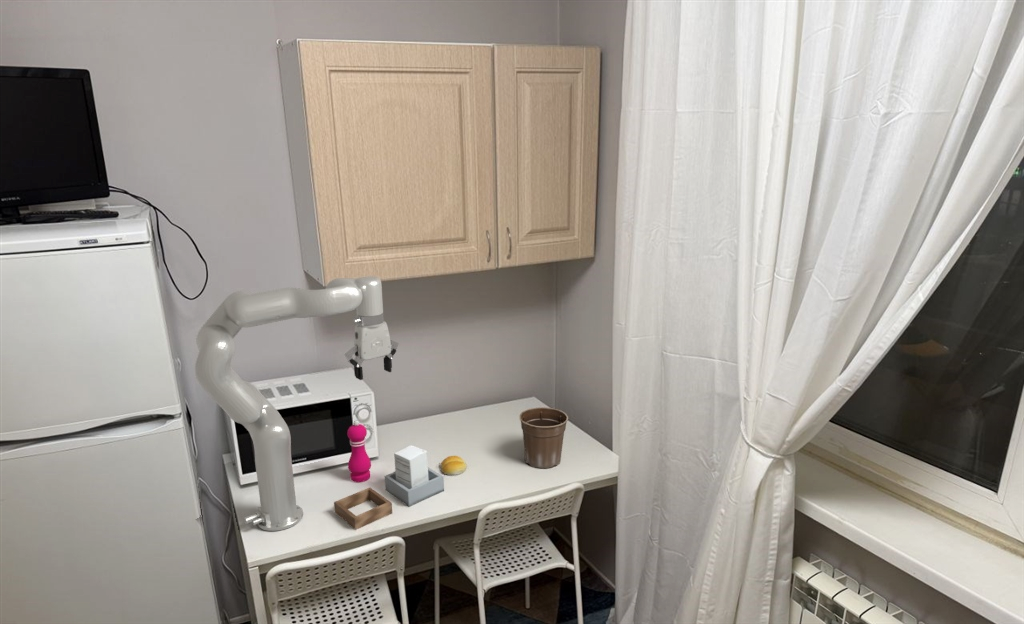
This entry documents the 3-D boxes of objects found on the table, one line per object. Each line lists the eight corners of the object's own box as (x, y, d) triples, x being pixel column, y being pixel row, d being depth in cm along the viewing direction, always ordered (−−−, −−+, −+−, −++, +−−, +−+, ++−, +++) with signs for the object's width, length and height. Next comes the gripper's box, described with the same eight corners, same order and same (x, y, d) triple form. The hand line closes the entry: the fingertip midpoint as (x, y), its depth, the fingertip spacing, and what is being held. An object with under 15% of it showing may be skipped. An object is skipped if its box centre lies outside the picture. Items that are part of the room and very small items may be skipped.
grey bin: (409, 506, 190) (408, 491, 189) (385, 490, 199) (384, 475, 198) (444, 490, 198) (443, 476, 197) (419, 475, 208) (419, 461, 206)
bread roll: (444, 478, 207) (443, 467, 206) (439, 465, 215) (439, 454, 214) (469, 474, 209) (468, 463, 208) (463, 462, 217) (463, 451, 216)
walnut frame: (355, 529, 179) (354, 518, 178) (334, 512, 187) (333, 502, 186) (392, 513, 187) (391, 502, 186) (370, 497, 195) (370, 487, 194)
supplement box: (413, 480, 203) (411, 444, 200) (429, 487, 199) (427, 450, 196) (395, 490, 198) (393, 452, 195) (412, 497, 193) (409, 459, 190)
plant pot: (565, 449, 225) (566, 406, 221) (569, 472, 209) (569, 426, 205) (519, 449, 225) (519, 406, 221) (519, 472, 209) (519, 426, 205)
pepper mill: (376, 475, 208) (372, 418, 203) (361, 485, 202) (356, 427, 197) (360, 470, 212) (355, 414, 207) (344, 479, 206) (339, 422, 201)
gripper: (349, 327, 178) (354, 385, 182) (402, 316, 189) (405, 371, 193) (337, 322, 183) (341, 378, 187) (389, 312, 194) (391, 365, 199)
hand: (373, 374), depth 190 cm, fingers open, 9 cm apart
